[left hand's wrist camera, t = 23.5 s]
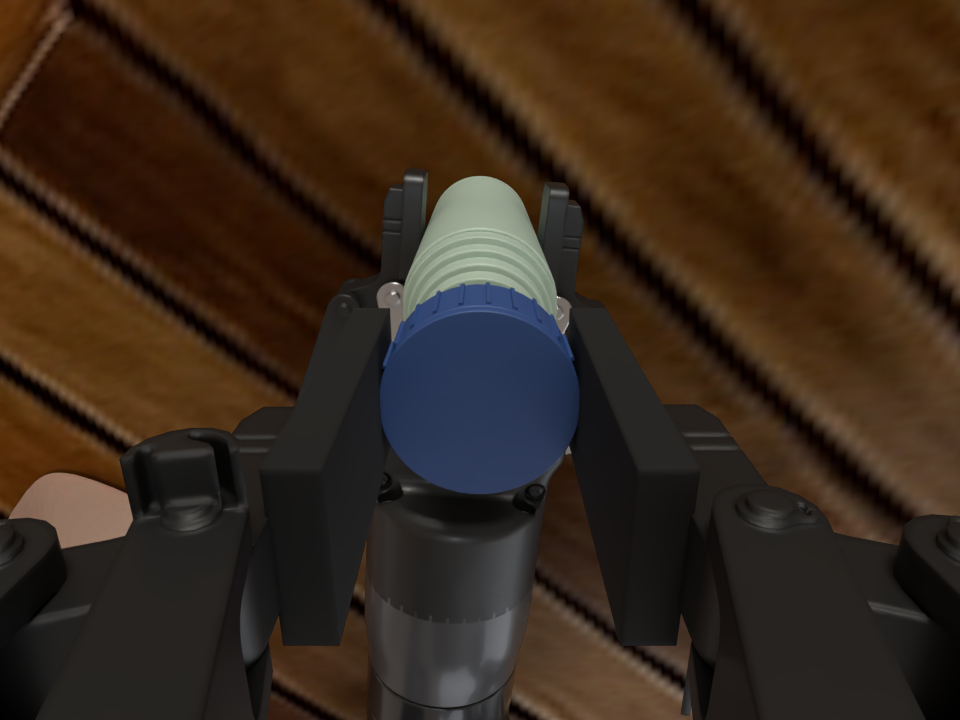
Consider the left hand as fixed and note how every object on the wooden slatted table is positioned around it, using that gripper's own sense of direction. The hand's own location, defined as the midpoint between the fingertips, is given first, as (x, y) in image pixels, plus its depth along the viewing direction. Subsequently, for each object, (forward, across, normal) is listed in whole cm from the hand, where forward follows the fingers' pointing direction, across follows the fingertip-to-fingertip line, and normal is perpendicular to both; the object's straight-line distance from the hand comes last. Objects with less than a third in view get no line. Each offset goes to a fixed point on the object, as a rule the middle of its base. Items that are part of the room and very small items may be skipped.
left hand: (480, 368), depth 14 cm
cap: (-2, 0, 0) cm, 2 cm away
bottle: (+17, 0, 0) cm, 17 cm away
